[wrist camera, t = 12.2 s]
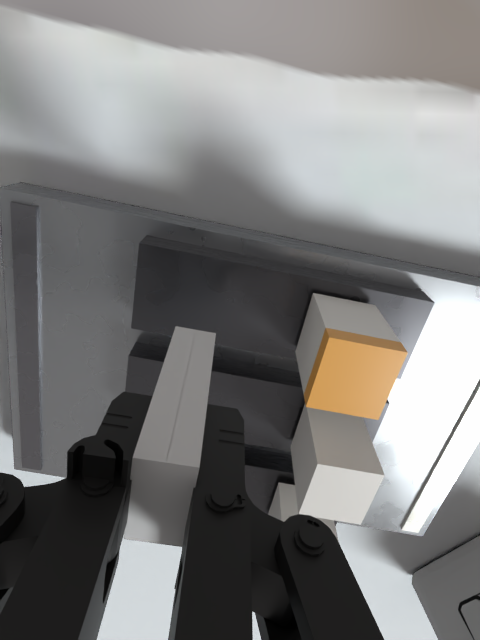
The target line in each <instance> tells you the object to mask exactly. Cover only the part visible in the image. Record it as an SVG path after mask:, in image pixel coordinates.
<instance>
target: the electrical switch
mask: <svg viewBox="0 0 480 640" xmlns="http://www.w3.org/2000/svg"><path fill="white" fill-rule="evenodd" d="M412 585H413V587H414V589H415V591H416V593H417V596H418V598H419V600H420V602H421V604H422V606H423V608H424V610H425V612H426V614H427V617H428V619H429V621H430V623H431V625H432V627H433V629H434V631H435V634H436V636H437V638H438V640H480V536H478V537H476V538H474V539H473V540H471V541H469V542H467V543H466V544H464V545H462V546H460V547H458V548H457V549H455V550H453V551H451V552H450V553H448V554H446V555H444V556H443V557H441V558H439V559H437V560H436V561H434V562H432V563H430V564H429V565H427V566H425V567H423V568H422V569H420V570H418V571H416V572H415V573H414V574H413V577H412Z"/></svg>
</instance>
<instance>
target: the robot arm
mask: <svg viewBox="0 0 480 640" xmlns="http://www.w3.org/2000/svg"><path fill="white" fill-rule="evenodd" d="M215 337H216V333H212V332H206V331H200V330H195V329H189V328H183V327H178V326H176V327H175V330H174V333H173V336H172V339H171V342H170V345H169V348H168V351H167V354H166V357H165V360H164V363H163V366H162V369H161V373H160V376H159V379H158V382H157V385H156V388H155V391H154V394H153V396H149V395H143V394H136V393H130V392H122V393H121V394H120V395H119V396H117V397H116V398H115V399H113V400H112V402H111V404H110V406H109V408H108V410H107V412H106V415H105V416H104V419H103V421H102V423H101V425H100V427H99V429H98V431H97V433H96V435H93V436H89V437H85V438H83V439H81V440H79V441H78V442H76V443H74V444H73V445H72V447H71V448H70V449H69V450H68V451H67V478H65V479H63V480H61V481H58V482H56V483H51V484H46V485H38V486H30V487H24V486H23V484H22V482H21V480H20V479H18V478H16V477H15V476H13V475H11V474H5V473H0V640H96V639H97V636H98V632H99V629H100V625H101V621H102V618H103V614H104V611H105V607H106V604H107V600H108V596H109V593H110V589H111V586H112V582H113V579H114V575H115V571H116V568H117V564H118V559H119V550H120V545H121V542H122V538H123V535H124V539H127V540H135V541H142V542H150V543H157V544H165V545H173V546H180V547H182V554H181V559H180V564H179V569H178V574H177V579H176V584H175V588H174V589H176V590H175V597H174V603H173V610H172V617H171V624H170V631H169V638H168V640H252V611H253V612H255V615H256V619H257V623H258V627H259V631H260V636H261V640H384V638H383V636H382V634H381V632H380V630H379V628H378V626H377V623H376V621H375V619H374V617H373V615H372V613H371V611H370V609H369V606H368V604H367V602H366V600H365V598H364V596H363V594H362V592H361V589H360V587H359V585H358V583H357V581H356V579H355V577H354V574H353V572H352V570H351V568H350V566H349V564H348V562H347V560H346V557H345V555H344V553H343V551H342V549H341V547H340V545H339V543H338V540H337V538H336V537H335V535H334V534H333V532H332V531H331V529H330V528H329V527H328V526H327V525H326V524H324V523H323V522H322V521H321V520H319V519H317V518H315V517H312V516H310V515H303V514H297V515H294V516H290V517H289V518H288V519H287V520H285V521H284V522H283V521H281V520H279V519H277V518H275V517H272V516H270V515H268V514H266V513H265V512H263V511H261V510H260V509H259V508H257V507H256V506H255V505H254V504H253V503H252V501H251V500H250V499H249V497H248V495H247V492H246V488H245V446H244V444H245V443H244V419H243V417H242V416H241V414H240V412H239V410H238V409H236V408H230V407H224V406H218V405H211V404H207V403H208V394H209V386H210V378H211V370H212V362H213V354H214V345H215Z"/></svg>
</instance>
